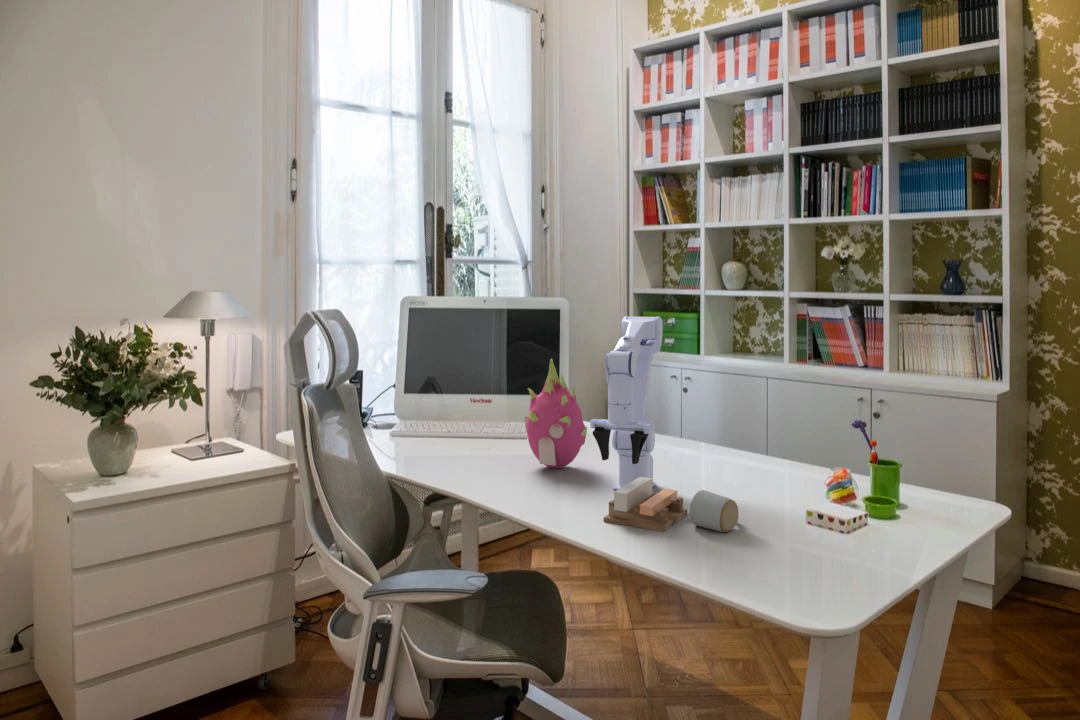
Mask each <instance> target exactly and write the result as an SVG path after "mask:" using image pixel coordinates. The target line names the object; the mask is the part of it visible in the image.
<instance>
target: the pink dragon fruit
mask: <svg viewBox="0 0 1080 720" xmlns="http://www.w3.org/2000/svg"><path fill="white" fill-rule="evenodd" d="M543 385H544V386H543V387H542V390H541V392H540V393H539V394H536V393H535V391H534V390H533V389H531V388H530V387H528V388H527V390H528V393H529V396H530V401H529V412H528V416H524V424H525V425H524V426H525V427H524V428H525V430H526V433H527V441H528V443H529V447H530V449H531V452H532V453H533V455H534V456H535V458H536V459H537V460H538V461H539V465H543V466H546V467H548V468H552V469H561V468H564V467H566V466H568V465H570V464H571V463H572V462H573V461H574V460H575V459H576V457H577V456H578V454H579V452H580V451H581V448H582V447H583V445H584V444H585V443H586V439H587V437H586V436H587V434H588V433H587V432H588V426H587V425H585V423H584V418H583V413H582V409H581V407H580V406H579V404H578V403H577V391H576V388H575V387H574V386H572V395H571V394H570V391H569V388H568V386H567V383H566V381H565V378H564V376H563V372H561V373H560V378H559V376H558V373H557V369H556V367H555V364H554V360H553V358H550V360H549V366H548V373H547V377H546V379H545V381H544V384H543Z"/></svg>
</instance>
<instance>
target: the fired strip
mask: <svg viewBox="0 0 1080 720" xmlns="http://www.w3.org/2000/svg"><path fill="white" fill-rule="evenodd" d="M655 494H656V495H654V496H653V497H651V498H649V499H648V500H646V501H645V502H643V503H642V504H640V514H643V515H649V516H654V515H655V514H656V513H658V512H659V511H660V510H661V509H662V508H665V507H666V506H668V505H669V504H671V503H672V502H674V501H676V499H677V498H678V490H677V489H670V488H663V489H662V490H660V491H659V492H657V493H655Z"/></svg>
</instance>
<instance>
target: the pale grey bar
mask: <svg viewBox="0 0 1080 720" xmlns="http://www.w3.org/2000/svg"><path fill="white" fill-rule="evenodd" d="M652 494H653V487H652V478H646V477H639V478H637V479H636V480H634V481H632V482H630V483H629V484H627V485H625V486H623V487H622V488H620V489H618V490H615V491H613V500H614V510H618V511H624V512H627V511H629V510H631V509H632V508H634V506H635V505H637V504H640V503H641V502H643V501H645V500H646V499H648V498H649V497H650V496H651V495H652Z"/></svg>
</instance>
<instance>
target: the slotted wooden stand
mask: <svg viewBox="0 0 1080 720" xmlns="http://www.w3.org/2000/svg"><path fill="white" fill-rule="evenodd" d="M656 494H657V493H652V495H651V496H650V497H649V498H651V497H653V496H654V495H656ZM649 498H648V499H649ZM648 499H646V500H648ZM646 500H645V501H646ZM645 501H643V502H645ZM643 502H641V503H640V504H642V503H643ZM640 504H637V505H635V506H634V508H632V509H631V510H629V511H627V512H624V511H618V510H614V499H611V500H610V501H608V514H606V515H605V516H603V522H604V523H611V524H617V525H623V526H628V527H633V528H634V527H635V528H640V529H645V528H646V529H645V530H651V529H653V530H652V531H657V530H660V531H659V532H663V531H664V532H666V531H667V530H668V529H669V528H671V527H672V526H673V525H675V524H676V523H677V522H678V521H680V520H681V519H682V518H684V517H685V516H686V515H688V514H689V511H688V510H689V509H688V508H684V497H683V496H681V497H680V496H677V499H676V500H675V501H674V502H672V503H671V504H669V505H668V506H666V507H665V508H662V509H661V510H660V511H659V512H658V513H656V514H655V515H654V516H649V515H643V514H640ZM687 513H688V514H687ZM684 515H685V516H684ZM683 516H684V517H683ZM680 518H681V519H680ZM679 519H680V520H679ZM676 521H677V522H676ZM675 522H676V523H675ZM674 523H675V524H674ZM671 525H672V526H671ZM670 526H671V527H670ZM667 528H668V529H667ZM666 529H667V530H666Z"/></svg>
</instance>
